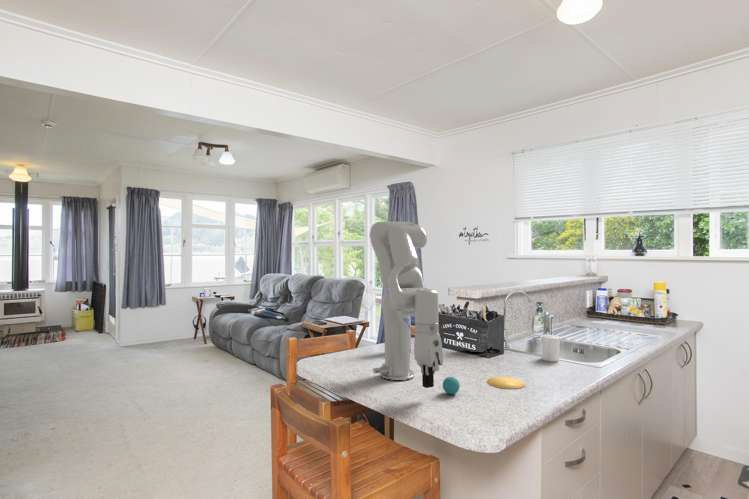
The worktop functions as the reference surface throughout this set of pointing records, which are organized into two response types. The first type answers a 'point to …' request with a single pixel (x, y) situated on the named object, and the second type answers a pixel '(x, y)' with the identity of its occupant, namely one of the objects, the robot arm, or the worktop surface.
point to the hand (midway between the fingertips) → (428, 386)
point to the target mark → (506, 383)
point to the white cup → (550, 347)
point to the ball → (451, 385)
